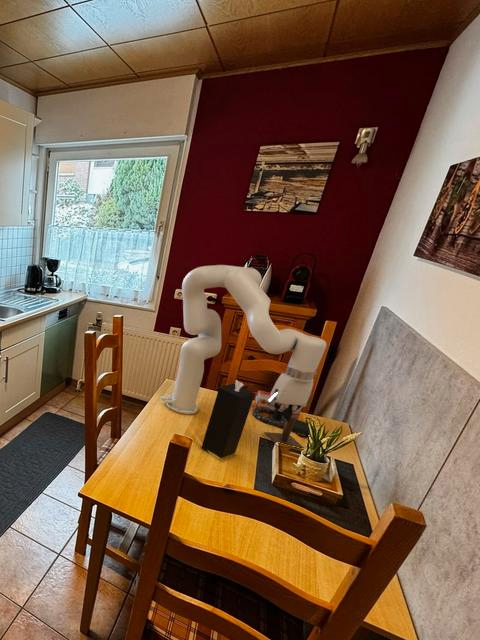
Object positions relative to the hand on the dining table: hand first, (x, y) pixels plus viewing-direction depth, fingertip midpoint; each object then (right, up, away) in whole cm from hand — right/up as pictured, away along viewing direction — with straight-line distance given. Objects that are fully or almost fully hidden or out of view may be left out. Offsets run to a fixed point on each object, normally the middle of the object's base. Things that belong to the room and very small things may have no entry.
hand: (280, 419), depth 136 cm
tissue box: (-21, -12, +3) cm, 24 cm away
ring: (-4, +1, 0) cm, 4 cm away
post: (+8, -10, +10) cm, 16 cm away
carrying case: (+17, -7, +20) cm, 27 cm away
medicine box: (+19, -3, +30) cm, 35 cm away
